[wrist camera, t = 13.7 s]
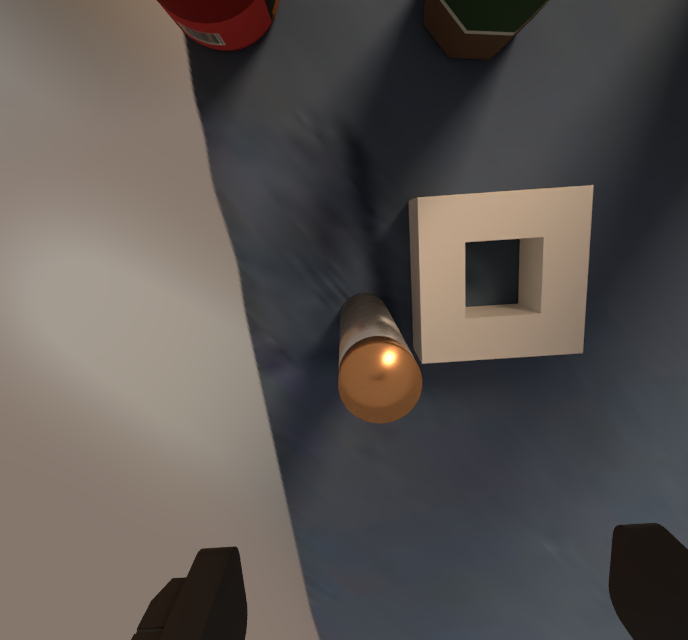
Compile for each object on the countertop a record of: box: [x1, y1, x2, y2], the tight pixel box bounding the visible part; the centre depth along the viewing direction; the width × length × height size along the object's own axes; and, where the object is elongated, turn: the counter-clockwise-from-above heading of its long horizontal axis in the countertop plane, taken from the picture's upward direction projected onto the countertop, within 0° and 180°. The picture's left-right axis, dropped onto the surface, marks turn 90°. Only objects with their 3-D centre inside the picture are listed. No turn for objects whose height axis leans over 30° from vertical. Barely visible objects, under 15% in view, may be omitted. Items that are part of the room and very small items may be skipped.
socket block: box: [409, 185, 594, 364], centre depth 31 cm, size 12×12×4 cm
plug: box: [338, 293, 422, 423], centre depth 27 cm, size 4×4×15 cm
